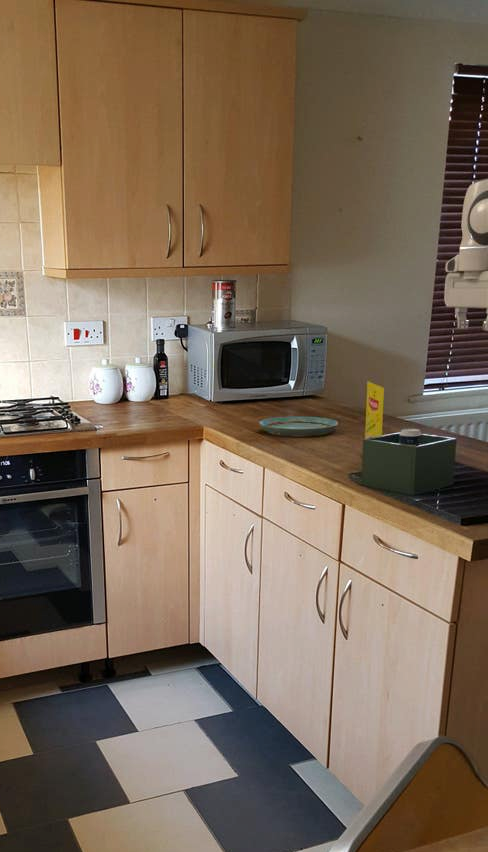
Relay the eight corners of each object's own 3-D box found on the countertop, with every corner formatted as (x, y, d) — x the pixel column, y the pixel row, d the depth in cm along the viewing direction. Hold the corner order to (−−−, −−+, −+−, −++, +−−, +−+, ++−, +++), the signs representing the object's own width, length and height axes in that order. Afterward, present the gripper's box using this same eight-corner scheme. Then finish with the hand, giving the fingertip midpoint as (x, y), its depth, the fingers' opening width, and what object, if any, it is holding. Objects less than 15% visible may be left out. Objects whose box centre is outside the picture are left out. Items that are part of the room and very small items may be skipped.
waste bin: (453, 485, 199) (456, 438, 196) (413, 496, 191) (416, 447, 187) (400, 476, 210) (403, 431, 207) (360, 485, 202) (362, 439, 198)
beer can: (421, 484, 198) (424, 431, 194) (400, 484, 198) (403, 432, 194) (414, 479, 203) (418, 427, 199) (394, 480, 202) (397, 428, 199)
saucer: (302, 442, 258) (302, 430, 257) (243, 433, 276) (243, 423, 275) (353, 431, 273) (353, 420, 272) (294, 423, 290) (294, 413, 289)
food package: (362, 457, 233) (365, 381, 227) (366, 457, 233) (369, 381, 227) (377, 469, 219) (381, 387, 212) (382, 468, 219) (386, 387, 212)
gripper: (524, 260, 177) (517, 331, 181) (466, 263, 196) (461, 327, 200) (497, 261, 175) (490, 332, 180) (441, 263, 194) (436, 328, 198)
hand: (475, 329), depth 190 cm, fingers open, 8 cm apart
